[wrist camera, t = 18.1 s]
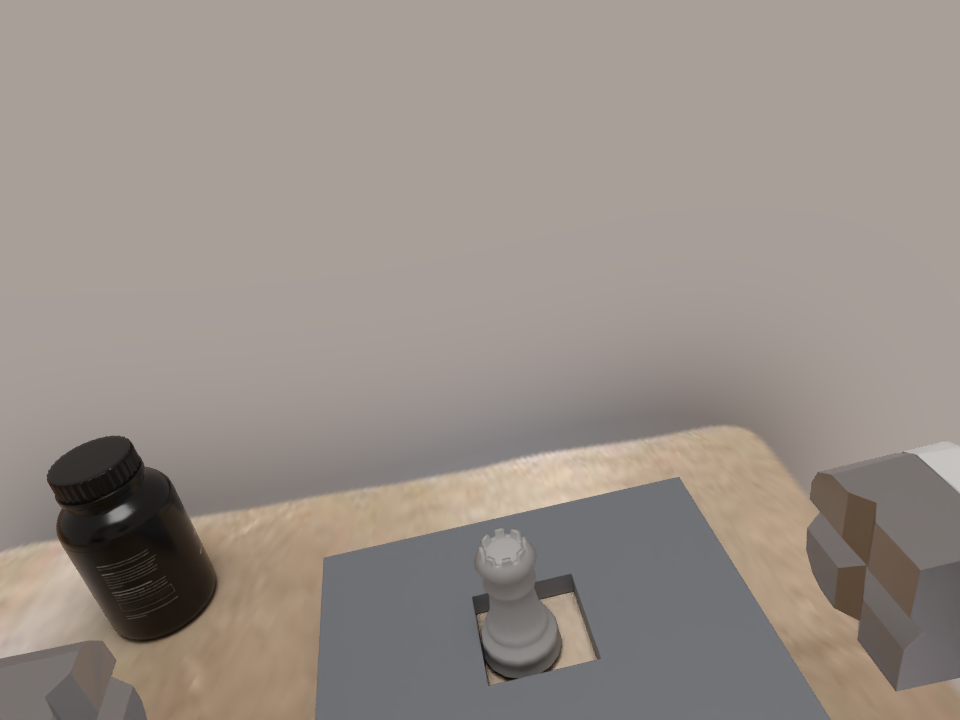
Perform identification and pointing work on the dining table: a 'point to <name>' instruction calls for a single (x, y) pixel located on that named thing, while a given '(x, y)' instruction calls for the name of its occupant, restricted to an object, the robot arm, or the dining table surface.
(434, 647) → the socket board
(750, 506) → the dining table surface
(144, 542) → the supplement bottle
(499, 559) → the rook chess piece
